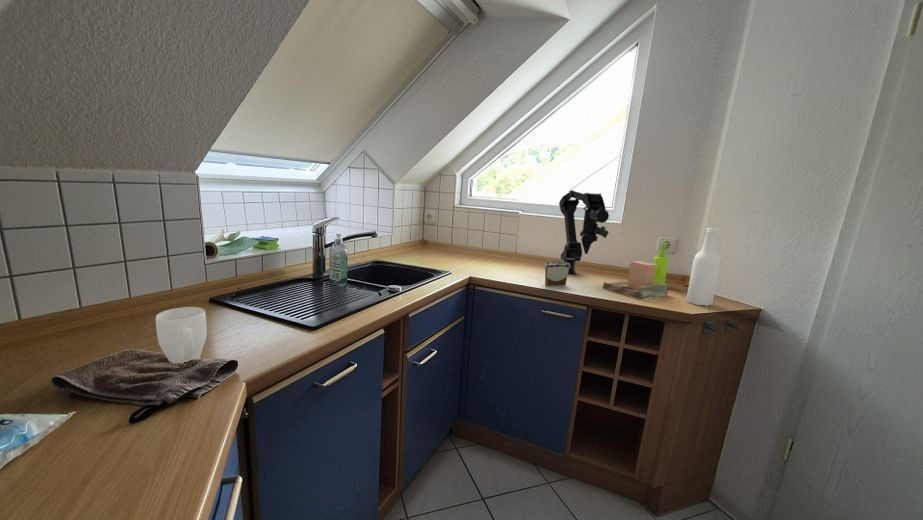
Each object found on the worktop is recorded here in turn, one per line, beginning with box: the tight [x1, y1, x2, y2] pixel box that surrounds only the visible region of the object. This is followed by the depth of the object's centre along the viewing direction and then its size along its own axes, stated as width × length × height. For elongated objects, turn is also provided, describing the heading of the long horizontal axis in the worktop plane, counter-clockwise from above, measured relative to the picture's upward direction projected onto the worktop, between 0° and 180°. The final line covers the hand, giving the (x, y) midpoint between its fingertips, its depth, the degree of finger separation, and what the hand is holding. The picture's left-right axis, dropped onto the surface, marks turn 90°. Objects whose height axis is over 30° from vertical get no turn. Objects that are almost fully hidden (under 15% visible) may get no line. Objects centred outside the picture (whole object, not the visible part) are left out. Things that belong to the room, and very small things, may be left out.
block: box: [627, 260, 657, 290], centre depth 158 cm, size 8×6×11 cm
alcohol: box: [686, 227, 721, 306], centre depth 146 cm, size 9×9×30 cm
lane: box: [602, 280, 669, 300], centre depth 161 cm, size 18×19×5 cm
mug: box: [155, 306, 208, 363], centre depth 77 cm, size 12×8×11 cm
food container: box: [543, 260, 571, 287], centre depth 165 cm, size 12×6×10 cm, turn 108°
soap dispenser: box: [652, 242, 669, 285], centre depth 174 cm, size 6×7×20 cm
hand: (586, 253), depth 176 cm, fingers closed
